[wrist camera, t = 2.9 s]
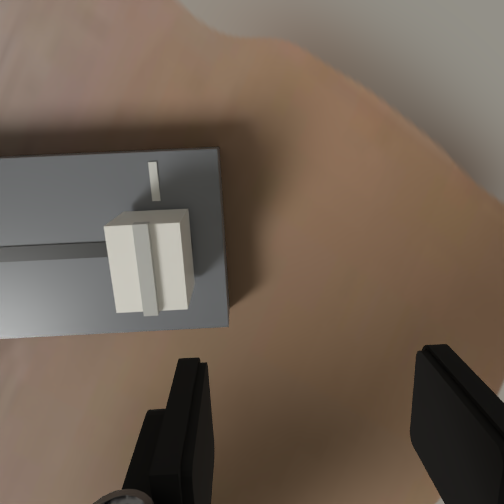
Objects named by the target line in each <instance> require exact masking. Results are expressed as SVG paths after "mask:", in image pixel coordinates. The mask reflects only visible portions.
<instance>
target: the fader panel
mask: <svg viewBox="0 0 504 504" xmlns="http://www.w3.org/2000/svg"><path fill="white" fill-rule="evenodd" d="M169 209H188V211H189V222H190V234H191V245H192V256H193V268H194V279H195V285H194V289H193V292H192V296H191V300H190V303H189V307H188V309H184V310H165V311H160V312H159V315H158V316H144V314H143V312H126V313H116V306H115V299H114V293H113V286H112V279H111V273H110V266H109V259H108V253H107V246H106V239H105V233H104V226H105V225H106V224H107V223H109V222H110V221H112V220H113V219H114V218H116V217H117V216H118V215H120V214H121V213H123V212H126V211H148V210H169ZM215 327H229V293H228V277H227V261H226V245H225V230H224V214H223V198H222V182H221V166H220V150H219V147H201V148H179V149H156V150H134V151H112V152H89V153H67V154H44V155H22V156H0V339H7V338H25V337H44V336H63V335H82V334H101V333H120V332H139V331H158V330H177V329H196V328H215Z"/></svg>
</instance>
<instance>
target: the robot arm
mask: <svg viewBox="0 0 504 504" xmlns="http://www.w3.org/2000/svg"><path fill="white" fill-rule="evenodd" d="M410 437H411V442H412V445H413V447H414V449H415V450H416V452H417V454H418V456H419V458H420V460H421V461H422V463H423V465H424V467H425V469H426V470H427V472H428V474H429V476H430V478H431V480H432V481H433V483H434V485H435V487H436V489H437V490H438V492H439V494H440V496H441V498H442V500H443V501H444V503H445V504H504V403H503V402H502V401H501V400H500V399H499V398H498V397H497V395H496V394H495V393H494V392H493V391H492V390H491V389H490V388H489V387H488V386H487V385H486V384H485V383H484V382H483V381H482V380H481V379H480V378H479V377H478V376H477V375H476V374H475V373H474V372H473V371H472V370H471V369H470V368H469V366H468V365H467V364H466V363H465V362H464V361H463V360H462V359H461V358H460V357H459V356H458V355H457V354H456V353H455V352H454V351H453V350H452V349H451V348H450V347H449V346H448V345H447V344H439V345H425V346H424V347H423V349H422V351H418V352H417V354H416V364H415V376H414V388H413V401H412V413H411V425H410ZM213 468H214V436H213V424H212V412H211V400H210V388H209V376H208V365H207V362H206V363H200V358H181V359H179V360H178V363H177V367H176V371H175V375H174V379H173V383H172V387H171V391H170V394H169V398H168V402H167V406H166V409H154V410H148V411H147V413H146V416H145V419H144V422H143V425H142V428H141V431H140V434H139V437H138V440H137V444H136V447H135V450H134V453H133V456H132V459H131V462H130V465H129V468H128V472H127V475H126V478H125V481H124V484H123V487H122V490H118V491H114V492H112V493H109V494H107V495H105V496H103V497H101V498H100V499H99V500H97V501H96V502H94V503H93V504H211V495H212V481H213Z"/></svg>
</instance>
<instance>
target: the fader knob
mask: <svg viewBox="0 0 504 504" xmlns="http://www.w3.org/2000/svg"><path fill="white" fill-rule="evenodd" d="M104 233H105V239H106V246H107V253H108V259H109V266H110V273H111V279H112V286H113V293H114V299H115V306H116V313H126V312H143V314H144V316H158V315H159V312H160V311H165V310H184V309H188V307H189V303H190V300H191V296H192V292H193V289H194V285H195V279H194V268H193V256H192V245H191V234H190V222H189V211H188V209H169V210H148V211H126V212H123V213H121V214H120V215H118V216H117V217H116V218H114V219H113V220H112V221H110V222H109V223H107V224H106V225H105V226H104Z"/></svg>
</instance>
